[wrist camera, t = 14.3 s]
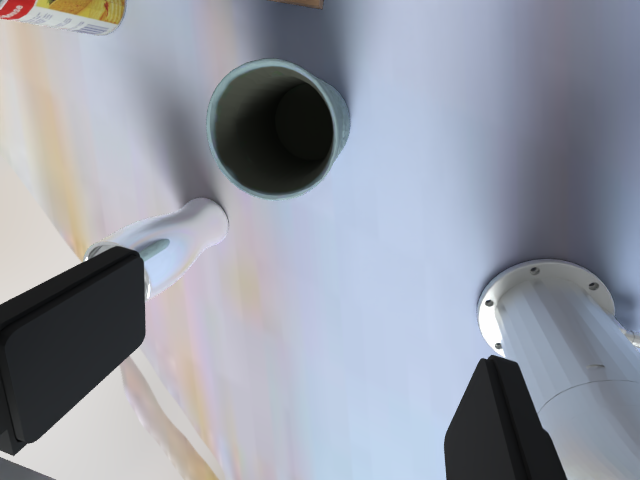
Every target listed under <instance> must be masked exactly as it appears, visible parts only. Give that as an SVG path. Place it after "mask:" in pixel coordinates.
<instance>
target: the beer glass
mask: <svg viewBox="0 0 640 480" xmlns="http://www.w3.org/2000/svg"><path fill="white" fill-rule="evenodd" d="M228 227H229V225H228V219H227V216H226V214H225V212H224V210H223V209H222V208H221V207H220V206H219V205H218V204H217V203H216V202H214V201H212V200H210V199H207V198H195V199H192V200H191V201H189V202H188V203H187V204H185V205H184V206H183V207H182V208H181V209H180V210H178V211H176V212H172V213H168V214H163V215H158V216H153V217H149V218H146V219H142V220H139V221H137V222H134V223H132V224H129V225H127V226H125V227H123V228H121V229H119V230H117V231H116V232H114V233H112V234H110V235H109V236H107V237H106V238H104V239H102V240H101V241H99V242H97V243H95V244H93V245H91V246H90V247H89V248H88V249H87V251H86V253H85V255H84V259H83V262H85V261H87V260H88V259H90V258H92V257H94V256H96V255H98V254H100V253H102V252H104V251H106V250H108V249H110V248H112V247H114V246H121V247H125V248H128V249H132V250H135V251H137V252H139V254H140V257H141V258H142V259H143V261H144V284H145V303H146V302H148V301H150V300H151V299H153V298H155V297H156V296H158V295H159V294H161V293H162V292H164V291H165V290H166V289H168V288H169V287H170V286H172V285H173V284H174V283H175V282H177V281H178V280H179V279H180V278H181V277H182V276H183V275H184V274H185V273H186V272H187V271H188V269H189V268H190V267H191V266H192V264H193V263H194V262H195V261H196V259H197V258H198V257H199V255H200V254H201V253H202V252H203V251H204V250H205V249H207V248H209V247H211V246H214V245H216V244H218V243H220V242H221V241H223V240H224V238H225V237H226V235H227V233H228Z"/></svg>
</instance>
